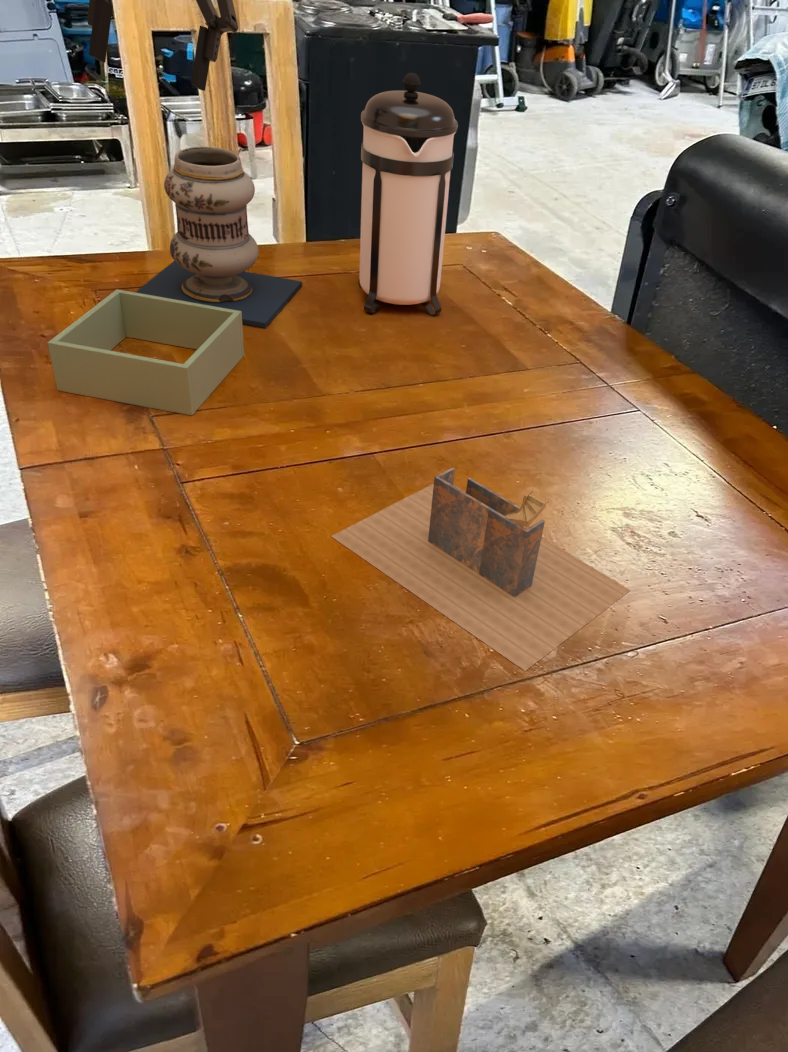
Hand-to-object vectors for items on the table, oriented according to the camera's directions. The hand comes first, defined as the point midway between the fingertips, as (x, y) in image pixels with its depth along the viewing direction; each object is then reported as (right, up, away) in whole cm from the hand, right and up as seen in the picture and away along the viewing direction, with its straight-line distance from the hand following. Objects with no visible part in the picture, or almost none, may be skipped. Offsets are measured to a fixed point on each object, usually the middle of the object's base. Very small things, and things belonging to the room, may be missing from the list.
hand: (147, 73), depth 112 cm
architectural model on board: (+41, -63, -25) cm, 79 cm away
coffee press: (+30, -21, +22) cm, 43 cm away
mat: (+5, -22, +17) cm, 28 cm away
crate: (+2, -38, -2) cm, 38 cm away
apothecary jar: (+5, -22, +16) cm, 28 cm away
